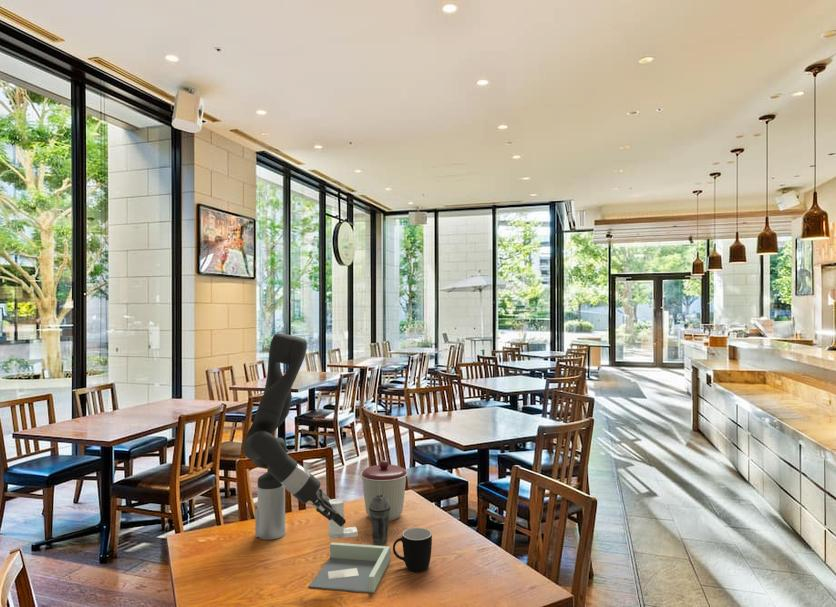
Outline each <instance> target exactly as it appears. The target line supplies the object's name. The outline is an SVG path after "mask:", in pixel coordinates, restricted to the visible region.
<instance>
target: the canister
mask: <svg viewBox="0 0 836 607" xmlns="http://www.w3.org/2000/svg"><path fill="white" fill-rule="evenodd" d="M359 475H360V478H361V481H362V489H363V490H362V492H363V498H364V505H365V513H366V514H367V517H368V518H369V519H370V520H371V515H370V510H369V507H370V502H371V500H372V499H373V498H374V497H375V496H377V495H378V483H380V495H383V496H385V497H386V498H387V499H388V500H389V503H390V513H389V521H388V522H390V521H391V522H392V521H395V520H397V519H398V518H400V517H401V515H402V513H403V510H404V502H405V490H406V482H407V476H408V475H409V471H408V470H407V469H406V468H404V467H401V466H399V465H395V464H389V462H388V460H386V459H385V460H383V459H382V460H380V462H379V464H377V465H376V464H375V465H371V466H368V467H366V468H365V469H364V470H362V471H360V473H359Z"/></svg>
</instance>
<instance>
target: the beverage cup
mask: <svg viewBox="0 0 836 607" xmlns="http://www.w3.org/2000/svg"><path fill="white" fill-rule="evenodd" d="M369 510H370V515H371V519H370V522H371V523H370V524H371V534H372V542H373V545H376V546H385V545H386V544H387V543H388V535H389V534H388V531H389V522H390V521H389V513H390V503H389V500H388V499H387V498H386V497H385V496H383V495H380V483H378V495H377V496H375V497H374V498H373V499H372V500H371V502H370V507H369Z"/></svg>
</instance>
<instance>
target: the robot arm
mask: <svg viewBox="0 0 836 607" xmlns="http://www.w3.org/2000/svg"><path fill="white" fill-rule="evenodd" d="M307 348H308V341H307V340H306V339H305V338H303V337H300V336H296V335H292V334H291V335H290V334H288V333H283V332H282V333H281V332H277V333H275V334H273V336H272V338H271V341H270V345H269V350H268V351H269V352H268V359H267V360H268V361H267V373H266V374H267V375H266V380H265V381H266V382H265V385H264V392H263V395H261V398H260V400H259V404H258V407H257V409H256V410H257V411H256V413H255V417H254V418H253V421H252V423H251V425H250V427H249V429H248V431H247V434H246V436H245V438H244V441H243V444H242V451H243V455H244V456H245V457H246V458H247V459H248V460H251V461H253V464H254V466H255V467H257V468H265V467H267V471H266V472H265V473H263V474H261V475H260V476H258V478H257V508H255V509H254V510H255V512H254V513H255V514H254V516H255V518H254V520H255V524H254V525H255V526H254V527H255V528H254V530H255V532H254V534H255V535H254V536H255V538H258V537H259V538H258V539H260V540H263V541H264V540H265V541H270V540H276V539H280V538H282V537H284V536H285V534H286V490H287V492H289V493H290V494H291V495H292V496H293V497H295V499H297V501H299V502H300V503H301V504H303V505H304V504H307V503H308V502H312V507H313V508H315V510H316V512H318V513H319V514H320V515H322V516H323V517H325V518H326V519H327V520H328V521H329V520H331V519H332V520H333V521H334V522H336V523H337V524H338V525H339V526H340V527H342V526H343V525H344V526H345V525H346V521H347V520H346V519H345V517H344V518H343V517H342V516H340V515H339V514H338V513H337V511H335V510H334V509H333V508H332V504H331V503H330V502H329V500H330V499H331V498H330V497H329V496H328V495H327V494H326V493H325V492H324V491H323V489H321V481H320V480H319V479H317V478H316V477H315V476H314V475H313V474H312V473H311V472H310V471H308V470H307V468H305V466H302V465H301V464H300V463H298V462H297V461H296V460H295V459H294V458H292V457H291V456H290V455H289V454H288V453H287V445H286V441H285V440H284V438H283V437H275V436H274V435H273V433H274V432H275V431H276V430H277V429H278V428H279V426H281V425H282V424H283V423H284V421H285V420H286V418H287V417H288V415H289V414H290V410H291V403H292V398H293V396H292V391H291V389H292V387H293V385H294V384H295V380H296V378H297V376H298V374H299V371H300V370H301V367H302V365H303V363H304V360H305V357H306V352H307ZM281 364H285V365H289V367H288V369H287V371H286V372H285V373H284V374H283V372H282V368H281ZM329 512H331V514H330V515H329Z"/></svg>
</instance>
